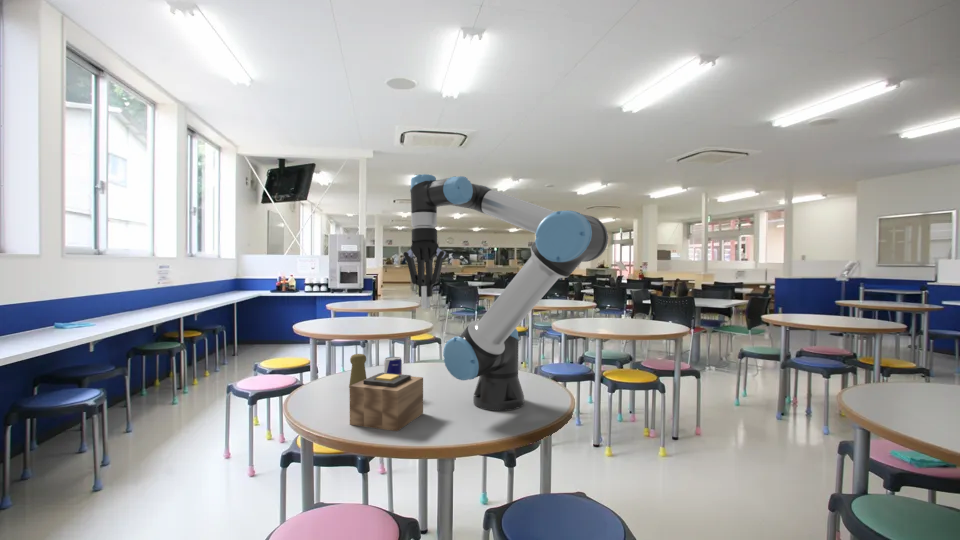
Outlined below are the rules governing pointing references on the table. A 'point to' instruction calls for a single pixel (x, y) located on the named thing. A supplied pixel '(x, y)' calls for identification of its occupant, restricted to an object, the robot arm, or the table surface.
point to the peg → (387, 377)
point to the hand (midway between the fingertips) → (425, 307)
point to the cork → (357, 368)
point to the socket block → (386, 402)
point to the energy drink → (393, 365)
